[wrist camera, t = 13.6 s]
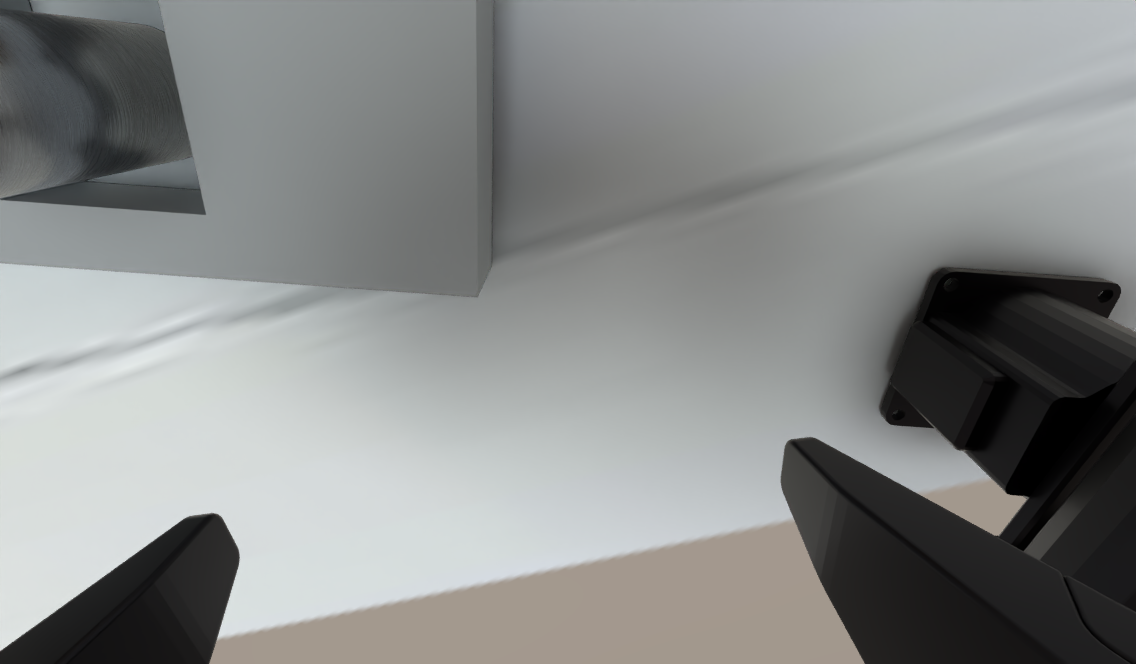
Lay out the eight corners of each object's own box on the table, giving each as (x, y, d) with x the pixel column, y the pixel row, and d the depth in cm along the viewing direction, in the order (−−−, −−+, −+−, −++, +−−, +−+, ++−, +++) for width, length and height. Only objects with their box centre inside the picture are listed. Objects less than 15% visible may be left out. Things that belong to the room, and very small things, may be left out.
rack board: (494, -71, 15) (475, -102, 12) (491, 266, 19) (477, 297, 17) (-299, -135, 15) (-494, -181, 12) (-122, 222, 19) (-237, 246, 16)
